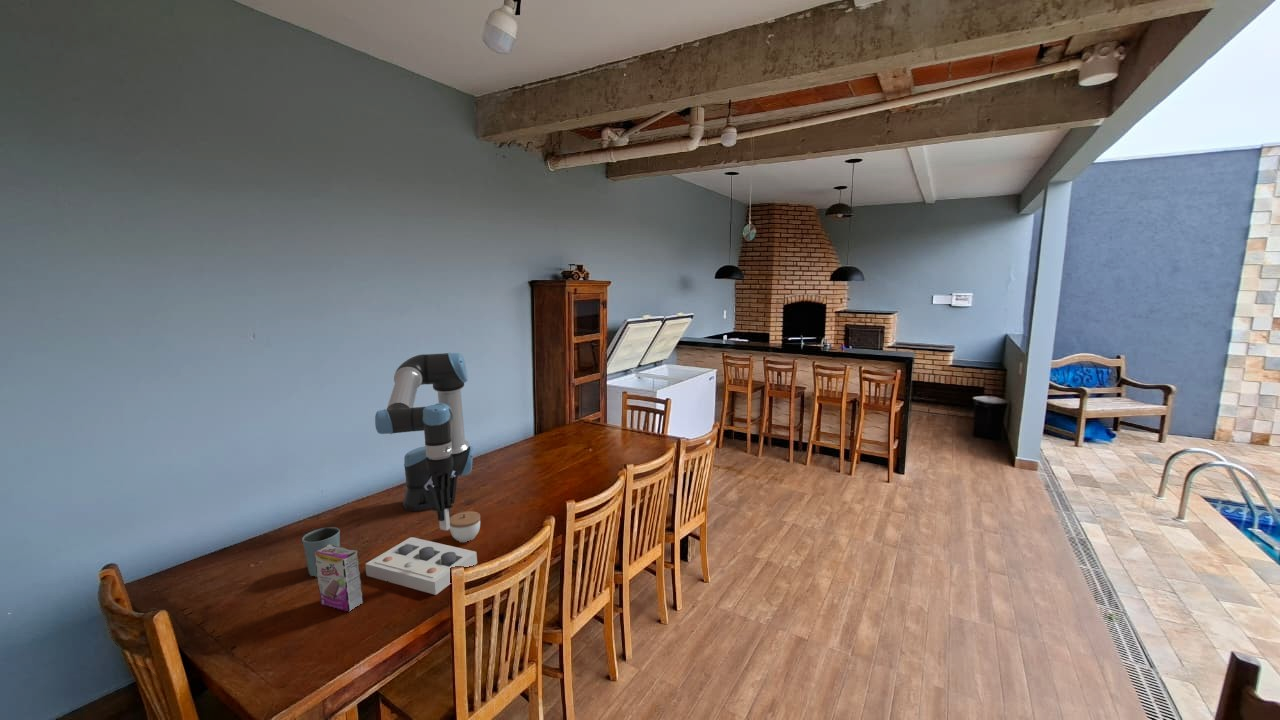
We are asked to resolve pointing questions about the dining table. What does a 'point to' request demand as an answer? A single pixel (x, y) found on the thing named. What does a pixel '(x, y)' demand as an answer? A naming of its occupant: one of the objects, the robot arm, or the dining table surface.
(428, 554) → the button
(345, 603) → the candy bar box
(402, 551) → the button
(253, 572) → the dining table surface
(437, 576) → the button board
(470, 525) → the lidded jar
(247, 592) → the dining table surface
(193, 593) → the dining table surface
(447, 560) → the button
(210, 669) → the dining table surface
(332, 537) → the grey plant pot
